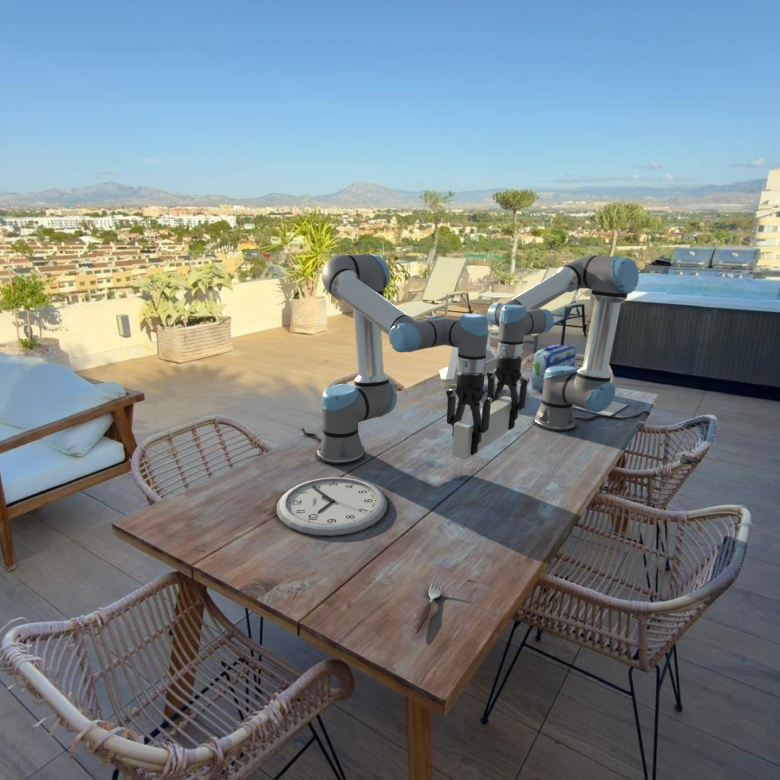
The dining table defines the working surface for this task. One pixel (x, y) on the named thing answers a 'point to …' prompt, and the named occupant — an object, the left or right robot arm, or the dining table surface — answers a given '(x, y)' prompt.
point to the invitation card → (608, 408)
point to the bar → (496, 429)
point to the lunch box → (550, 362)
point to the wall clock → (331, 506)
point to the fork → (433, 594)
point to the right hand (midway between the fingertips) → (503, 426)
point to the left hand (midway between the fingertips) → (465, 450)
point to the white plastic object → (451, 371)
